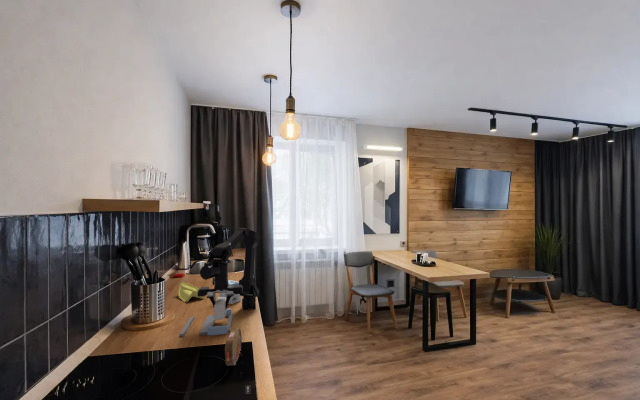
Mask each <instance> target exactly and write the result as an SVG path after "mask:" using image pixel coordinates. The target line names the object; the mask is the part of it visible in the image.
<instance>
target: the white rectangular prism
mask: <svg viewBox="0 0 640 400" xmlns="http://www.w3.org/2000/svg"><path fill="white" fill-rule="evenodd" d="M226 298H227V297H219V296H218V297H217V299H216V303H215V305H214V307H213V309H214V310H213V312H214V313H213V315H214V320H215V321H218V320H220V321H221V320H225V317H226V316H225V315H226V311H227V309H228V308H227V309H226V310H225V306H226Z"/></svg>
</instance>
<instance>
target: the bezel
mask: <svg viewBox="0 0 640 400" xmlns="http://www.w3.org/2000/svg"><path fill="white" fill-rule="evenodd" d="M232 310H233V309H232V308H227V311H226V315H225V317H229V315H230V314H233V313H232V312H233V311H232ZM227 334H228V333H227V324H226V325H213V326H212V327H208V334H207V336H218V335H219V336H220V335H227Z"/></svg>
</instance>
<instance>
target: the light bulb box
mask: <svg viewBox="0 0 640 400" xmlns="http://www.w3.org/2000/svg"><path fill="white" fill-rule="evenodd" d="M234 285H239V281H237V280H230V279H228V288H233V287H234ZM218 291H220V290H218ZM222 291H223V290H222ZM218 297H227V292H223V293H218ZM241 297H242V296H240V294H234V296H232V297H231V298H230V300H229V303H228V305H229V304H230V305H233V304H235V303H238V302H242V298H241Z"/></svg>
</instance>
